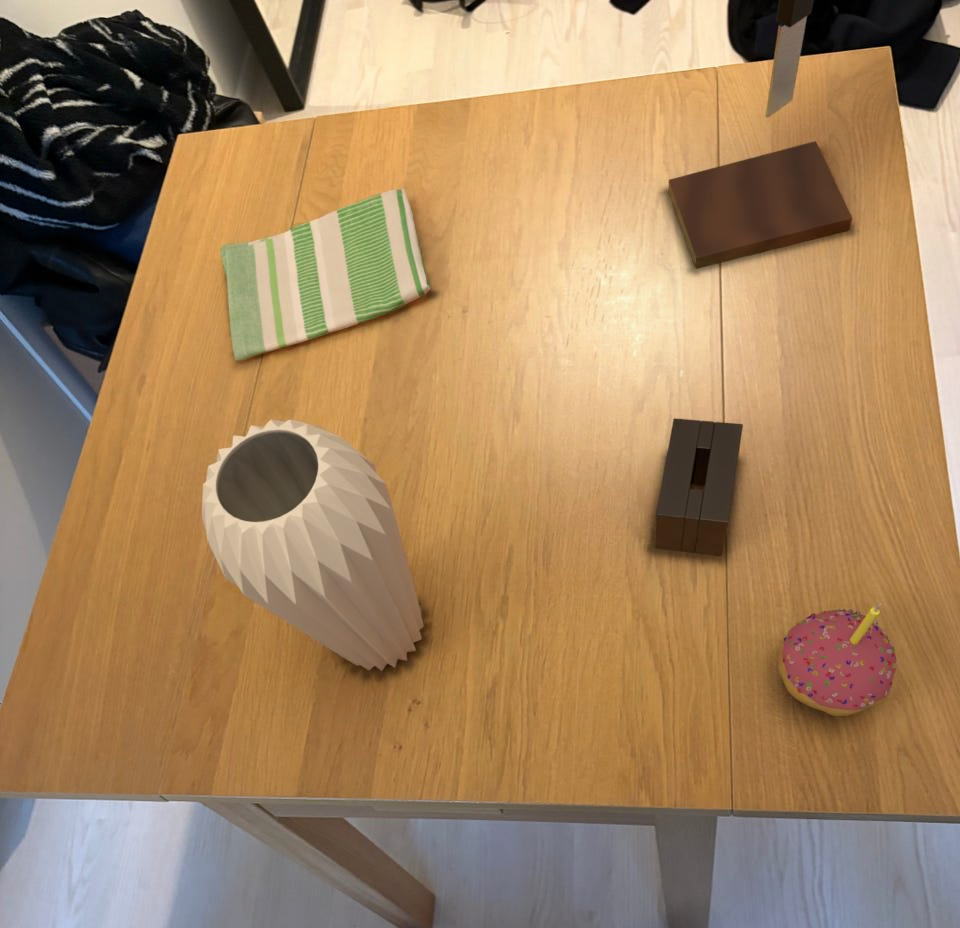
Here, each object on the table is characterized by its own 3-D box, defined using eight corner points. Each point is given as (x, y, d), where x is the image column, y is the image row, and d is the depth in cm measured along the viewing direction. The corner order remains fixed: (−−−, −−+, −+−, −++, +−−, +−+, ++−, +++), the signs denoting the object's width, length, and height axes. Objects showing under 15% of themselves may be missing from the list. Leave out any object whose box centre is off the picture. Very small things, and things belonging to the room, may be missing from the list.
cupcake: (815, 614, 70) (848, 547, 59) (903, 676, 67) (955, 618, 56) (750, 684, 69) (771, 629, 58) (836, 751, 66) (875, 706, 55)
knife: (797, 103, 76) (832, -88, 62) (772, 121, 76) (801, -67, 62) (785, 95, 77) (816, -95, 63) (760, 113, 76) (786, -75, 63)
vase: (427, 712, 73) (324, 582, 49) (295, 682, 77) (139, 547, 53) (468, 580, 78) (391, 402, 54) (341, 557, 81) (216, 381, 57)
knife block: (735, 462, 77) (743, 423, 72) (721, 556, 74) (728, 522, 68) (671, 456, 79) (673, 417, 73) (654, 548, 75) (656, 514, 70)
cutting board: (813, 153, 90) (816, 140, 89) (849, 230, 85) (852, 218, 84) (668, 191, 92) (668, 179, 90) (695, 268, 87) (696, 257, 85)
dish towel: (226, 256, 100) (216, 238, 98) (409, 199, 98) (403, 179, 96) (239, 366, 93) (228, 349, 91) (436, 306, 91) (431, 287, 89)
